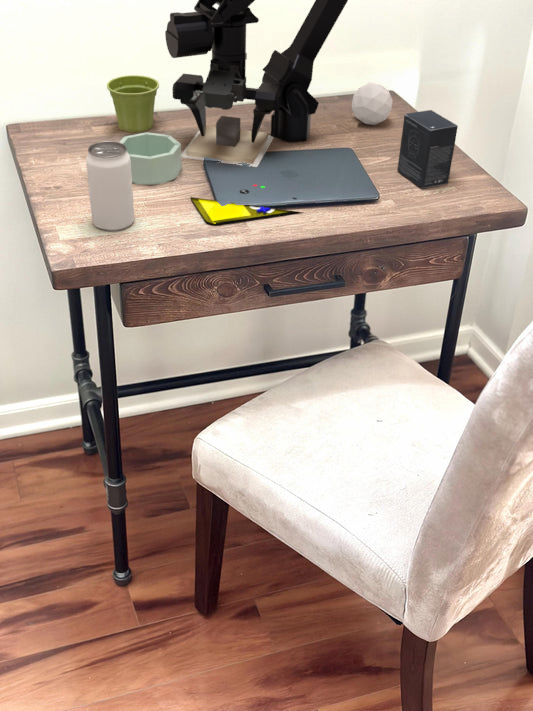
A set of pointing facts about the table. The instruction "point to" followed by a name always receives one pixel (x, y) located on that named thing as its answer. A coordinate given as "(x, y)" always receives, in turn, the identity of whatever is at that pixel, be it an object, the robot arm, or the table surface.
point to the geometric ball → (372, 103)
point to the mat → (233, 161)
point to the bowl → (153, 157)
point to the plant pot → (134, 101)
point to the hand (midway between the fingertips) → (228, 138)
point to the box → (426, 148)
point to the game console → (235, 211)
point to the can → (110, 185)
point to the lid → (227, 142)
